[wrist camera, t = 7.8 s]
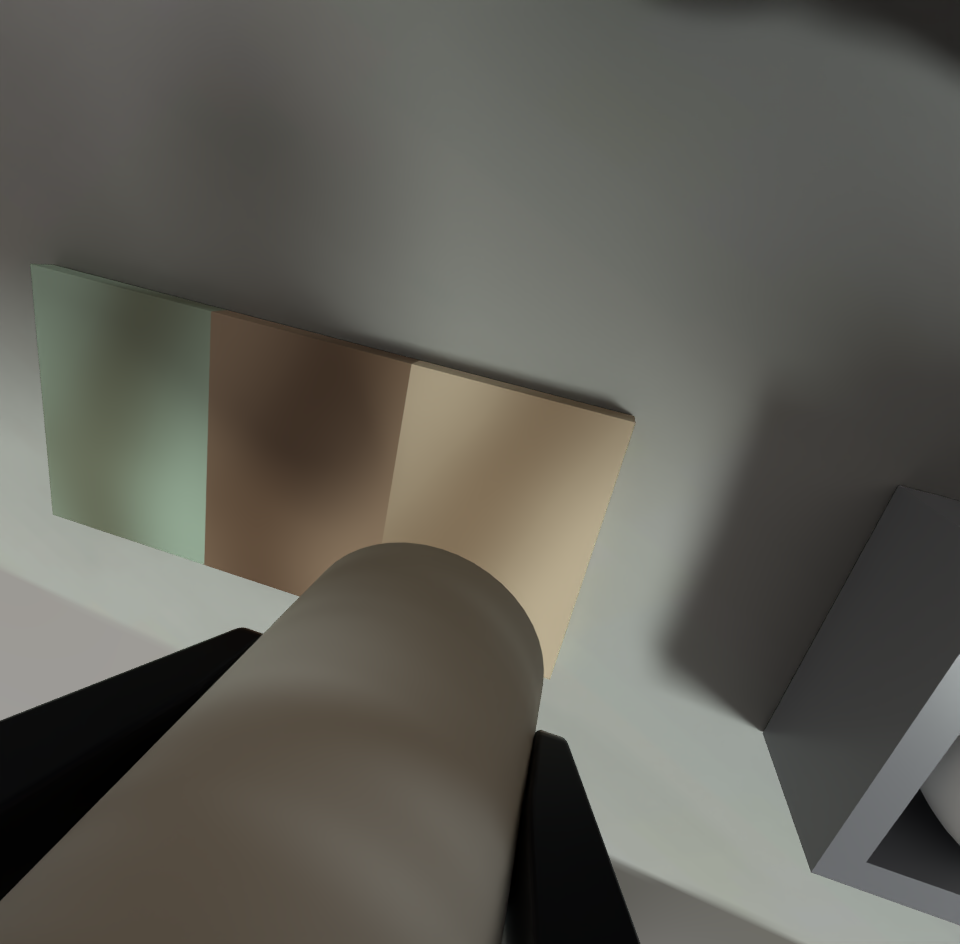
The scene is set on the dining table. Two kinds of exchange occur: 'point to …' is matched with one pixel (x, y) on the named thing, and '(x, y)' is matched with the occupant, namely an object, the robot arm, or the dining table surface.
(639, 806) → the dining table surface
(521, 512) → the game track
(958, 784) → the white ball
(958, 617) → the popper housing
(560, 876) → the robot arm
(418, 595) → the beige cylinder
